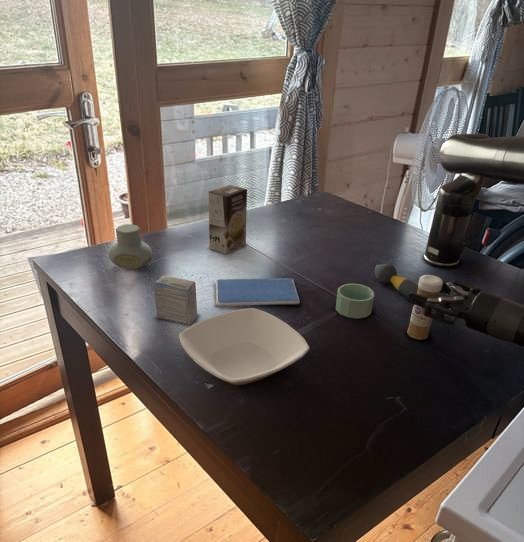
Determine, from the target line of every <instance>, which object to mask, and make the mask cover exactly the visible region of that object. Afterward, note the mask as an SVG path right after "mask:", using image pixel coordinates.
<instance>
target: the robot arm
mask: <svg viewBox="0 0 524 542" xmlns="http://www.w3.org/2000/svg"><path fill="white" fill-rule="evenodd" d="M438 153H439V154H438V159H439V163H440V165H441V167H442V169H443V170H444V171H445V172H447V173H448V174H452V175H458V176H457V177H456V178H454V179H453V180H452V181H449V182H447V183H445V184H443V185H442V186H441V187H440V188H439V191H438V195H437V200H436V203H435V208H434V213H433V217H432V222H431V226H430V230H429V235H428V239H427V243H426V247H425V251H424V255H423V260H424V261H425V263H427V264H429V265H431V266H434V267H439V268H445V269H446V268H454V267H457V266H458V265H459V262H460V257H461V254H463V253H464V251H465V247H466V242H465V239H466V236H467V233H468V229H469V225H470V220H471V218H472V213H473V210H474V207H475V203H476V199H477V198H478V195H479V194H480V193H481V191H482V187H483V184H484V181H485V178H487V179H491V180H496V181H501V182H505V183H511V184H515V185H524V136H523V135H512V136H510V135H509V136H498V137H490V136H489V135H488V134H485V133H457V134H453V135H451V136H448V137H447V138H446V139H445V140H444V142H443V143H442V145H441V147H440V149H439V152H438ZM439 294H444V295H445V296H438V299H434V298H429V297H426V296H423V295H420V294H418V293H415V292H411V293H410V294H409V298H408V297H407V298H408V299H407V301H408V303H409V304H411V305H413V306H414V305H417V306H420V307H422V308H424V309H425V310H424V316H427V317H429V318H432V320H435V321H438V322H441V323H444V324H447V325H450V326H453V325H454V324H455V321H456V319H461V320H464V322H465V327H466V328H468V329H471V330H473V331H475V332H479V333H481V334H483V335H486V336H490V337H492V338H495V339H497V340H501V341H503V342H507V343H508V342H509V343H512V344H515V345H517V346H520V347H523V348H524V304H521V303H519V302H517V301H513V300H511V299H507V298H504V297H502V296H499V295H496V294H493V293H490V292H486V291H484V290H483V291H482V289H481V288H479V287H476V286H473V285H471V284H469V283H465V282H462V281H460V280H457V279H453V280H452V281H447V282H445V281H443V284H442V288H441V290H440V292H439ZM433 303H435V304H436V305H435V304H433ZM431 312H434V313H431Z"/></svg>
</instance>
